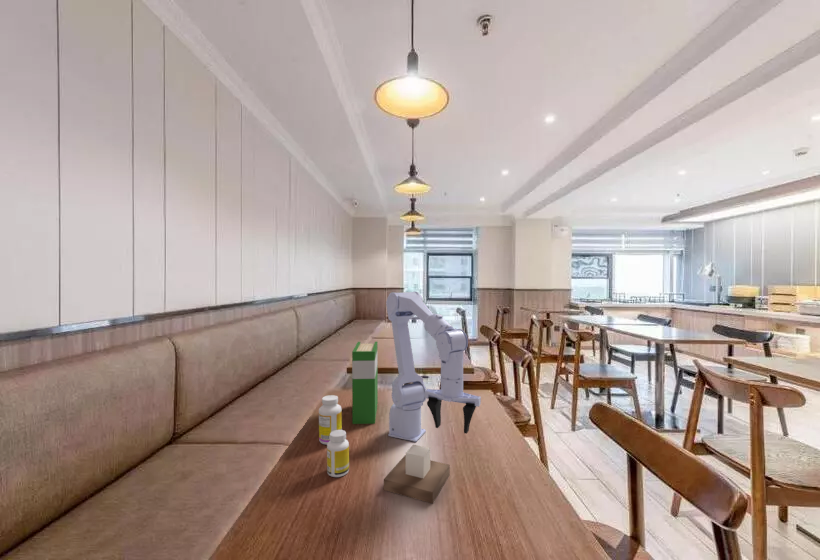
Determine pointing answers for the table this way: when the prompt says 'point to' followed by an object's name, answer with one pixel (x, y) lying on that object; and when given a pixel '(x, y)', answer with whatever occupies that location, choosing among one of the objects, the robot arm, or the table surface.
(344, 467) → the supplement bottle
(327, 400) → the supplement bottle
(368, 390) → the hardback book
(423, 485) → the walnut block
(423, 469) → the cream block
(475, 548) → the table surface
